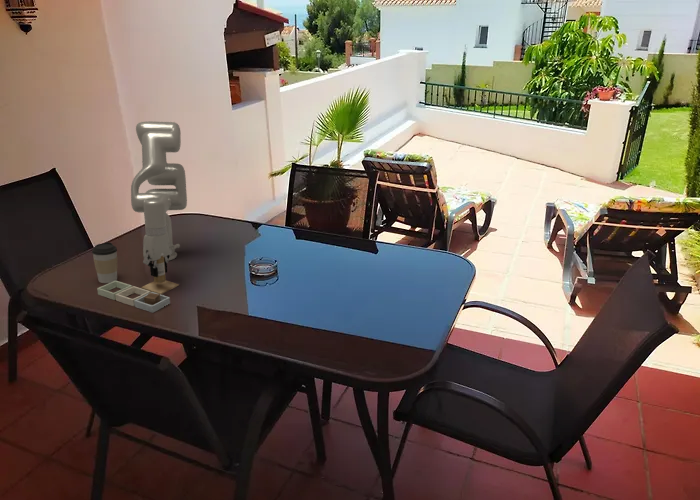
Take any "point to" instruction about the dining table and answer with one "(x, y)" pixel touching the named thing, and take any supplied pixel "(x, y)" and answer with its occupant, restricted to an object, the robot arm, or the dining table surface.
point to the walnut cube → (152, 298)
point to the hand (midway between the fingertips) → (159, 273)
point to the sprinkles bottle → (160, 270)
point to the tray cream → (123, 295)
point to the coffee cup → (105, 262)
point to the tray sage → (105, 289)
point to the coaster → (160, 287)
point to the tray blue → (152, 308)
